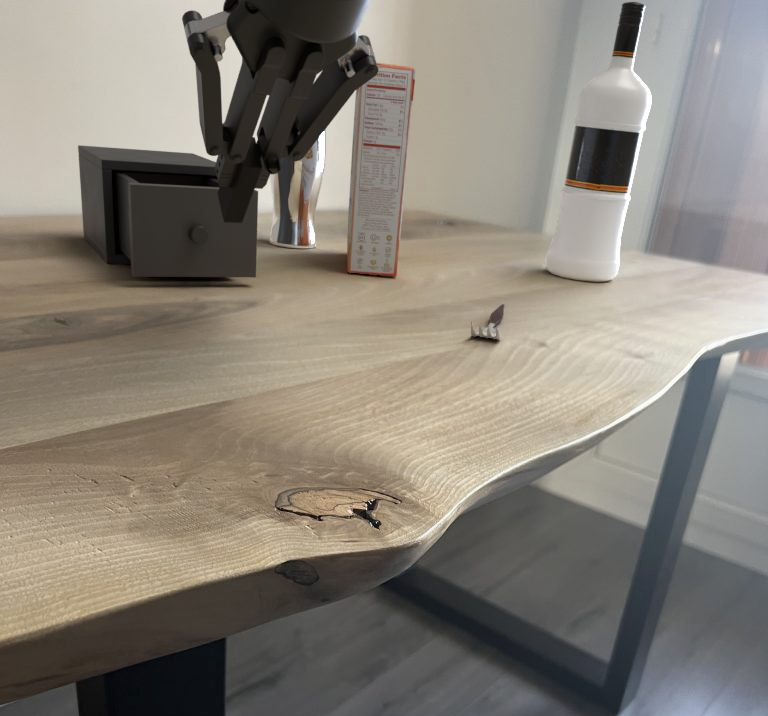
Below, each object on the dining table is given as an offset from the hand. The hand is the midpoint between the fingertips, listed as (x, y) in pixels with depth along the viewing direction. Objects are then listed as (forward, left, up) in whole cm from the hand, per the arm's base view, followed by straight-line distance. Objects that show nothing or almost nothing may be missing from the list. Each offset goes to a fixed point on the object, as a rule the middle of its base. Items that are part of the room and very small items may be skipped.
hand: (229, 208), depth 66 cm
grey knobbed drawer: (-7, +14, -8) cm, 18 cm away
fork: (+23, +5, -9) cm, 25 cm away
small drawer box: (-13, +25, -9) cm, 29 cm away
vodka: (+38, +38, -9) cm, 54 cm away
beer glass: (+1, +39, -9) cm, 40 cm away
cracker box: (+11, +30, -9) cm, 33 cm away
